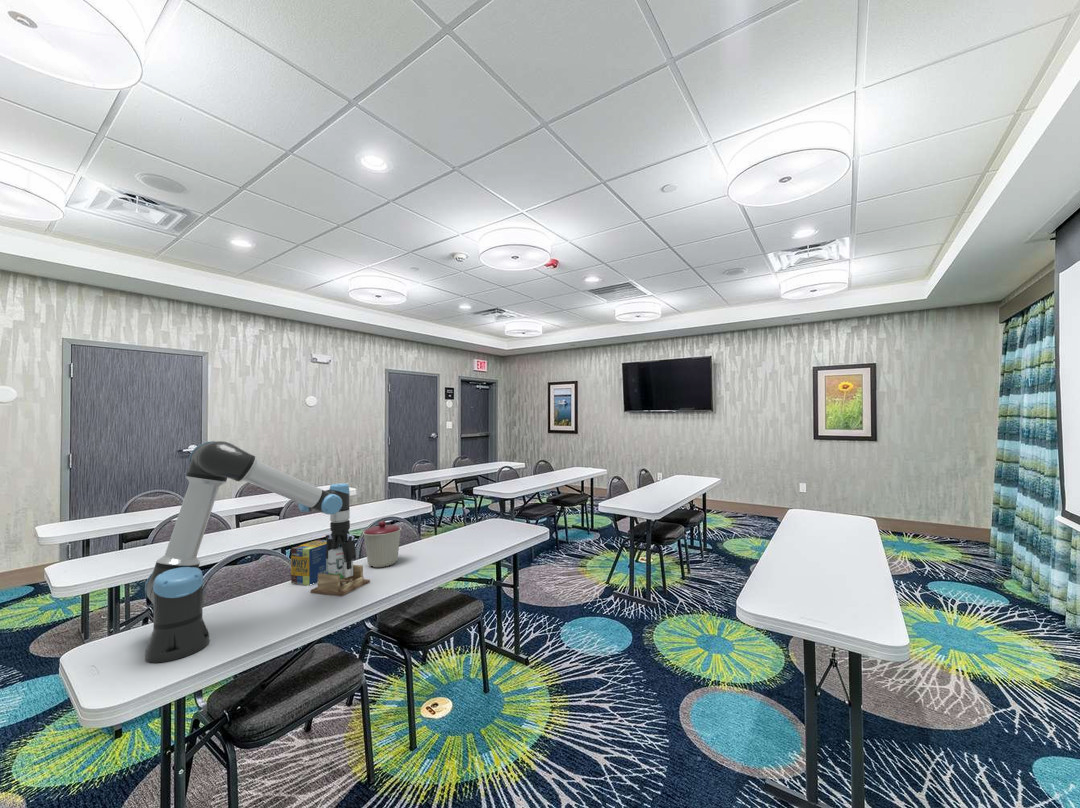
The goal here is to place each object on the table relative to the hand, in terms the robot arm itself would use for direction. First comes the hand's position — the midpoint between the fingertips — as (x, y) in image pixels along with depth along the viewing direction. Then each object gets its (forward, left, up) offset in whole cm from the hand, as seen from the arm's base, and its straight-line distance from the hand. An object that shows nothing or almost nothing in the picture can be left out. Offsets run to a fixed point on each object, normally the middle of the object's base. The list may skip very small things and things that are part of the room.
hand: (340, 576), depth 184 cm
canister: (+31, +4, -5) cm, 32 cm away
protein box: (+6, +21, -5) cm, 22 cm away
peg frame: (0, 0, -5) cm, 5 cm away
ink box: (0, 0, -1) cm, 1 cm away
